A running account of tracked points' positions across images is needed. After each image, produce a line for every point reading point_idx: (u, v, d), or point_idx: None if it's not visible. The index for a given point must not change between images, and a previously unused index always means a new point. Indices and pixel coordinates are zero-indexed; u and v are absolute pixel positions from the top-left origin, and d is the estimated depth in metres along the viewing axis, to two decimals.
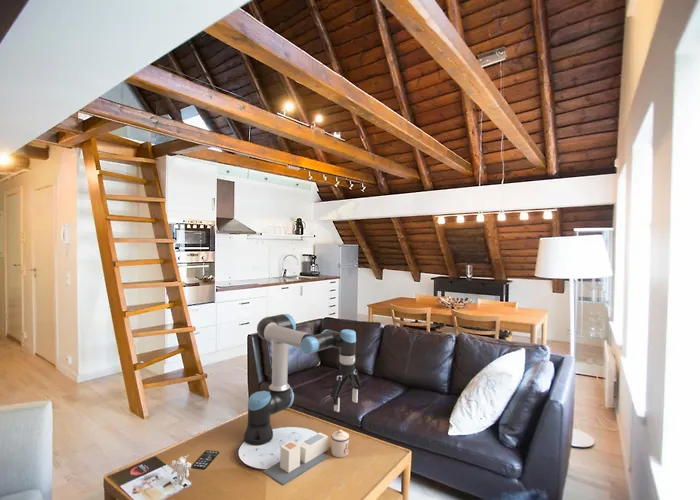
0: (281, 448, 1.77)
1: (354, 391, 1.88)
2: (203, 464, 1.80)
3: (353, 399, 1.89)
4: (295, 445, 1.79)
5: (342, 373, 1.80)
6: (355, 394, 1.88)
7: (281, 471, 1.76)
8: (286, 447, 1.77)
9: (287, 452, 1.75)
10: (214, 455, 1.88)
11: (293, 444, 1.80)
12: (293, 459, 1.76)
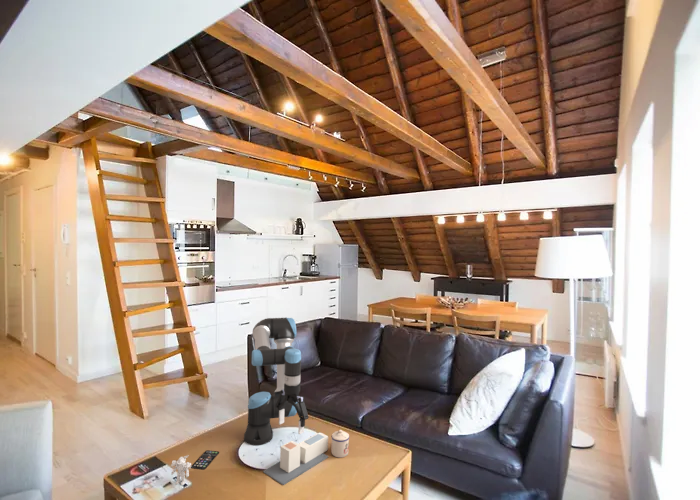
0: (281, 448, 1.77)
1: None
2: (203, 464, 1.80)
3: None
4: (295, 445, 1.79)
5: None
6: None
7: (281, 471, 1.76)
8: (286, 447, 1.77)
9: (287, 452, 1.75)
10: (214, 455, 1.88)
11: (293, 444, 1.80)
12: (293, 459, 1.76)
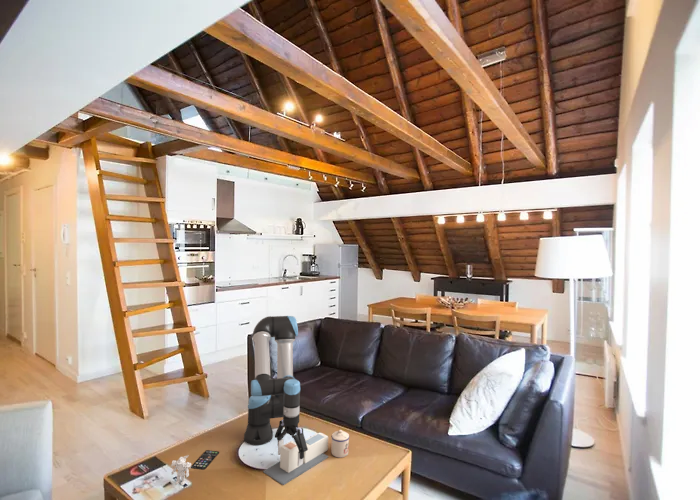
0: (281, 448, 1.77)
1: None
2: (203, 464, 1.80)
3: None
4: (295, 445, 1.79)
5: None
6: None
7: (281, 471, 1.76)
8: (286, 447, 1.77)
9: (287, 452, 1.75)
10: (214, 455, 1.88)
11: (293, 444, 1.80)
12: (293, 459, 1.76)
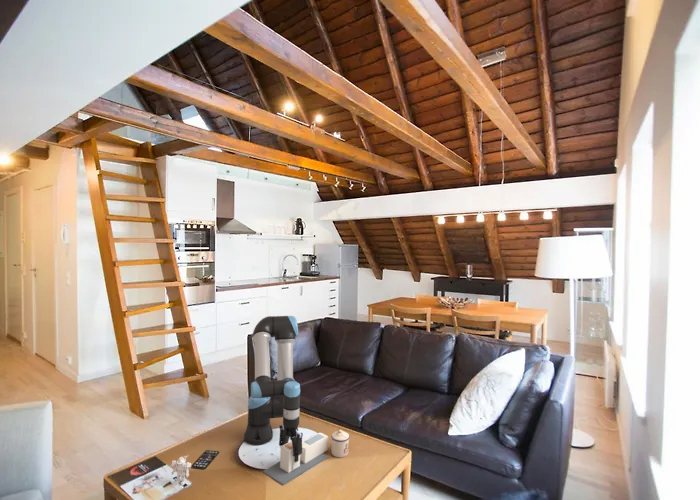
0: (281, 448, 1.77)
1: None
2: (203, 464, 1.80)
3: None
4: None
5: None
6: None
7: (281, 471, 1.76)
8: (286, 447, 1.77)
9: (287, 452, 1.75)
10: (214, 455, 1.88)
11: None
12: None
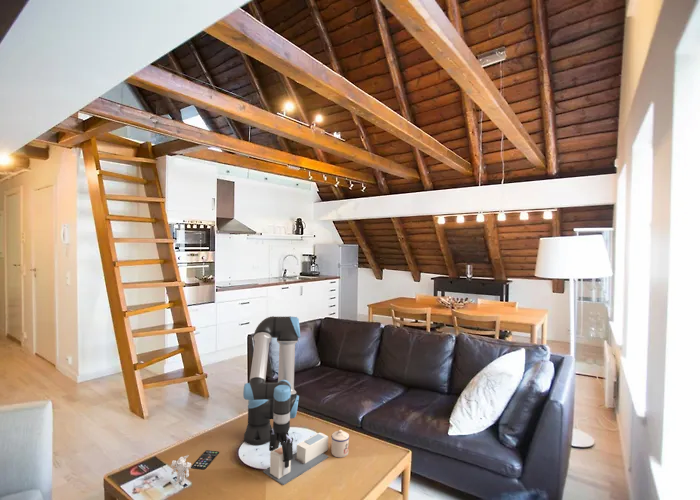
0: (271, 453, 1.73)
1: None
2: (203, 464, 1.80)
3: None
4: None
5: None
6: None
7: None
8: (276, 453, 1.72)
9: (277, 457, 1.70)
10: (214, 455, 1.88)
11: None
12: None
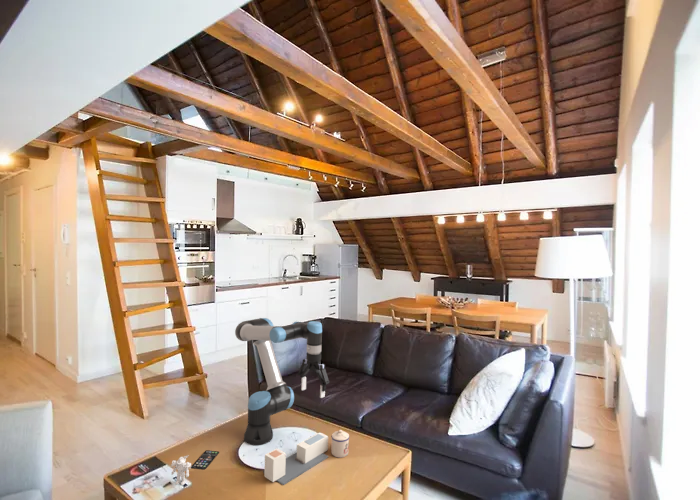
0: (265, 456, 1.71)
1: None
2: (203, 464, 1.80)
3: None
4: (280, 453, 1.72)
5: None
6: None
7: None
8: (271, 456, 1.70)
9: (271, 460, 1.68)
10: (214, 455, 1.88)
11: (278, 452, 1.73)
12: (278, 468, 1.70)
